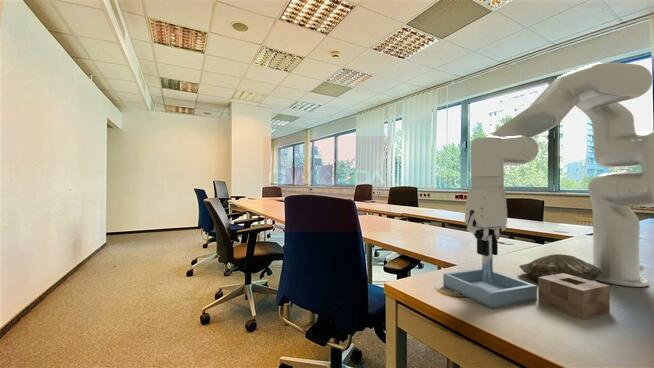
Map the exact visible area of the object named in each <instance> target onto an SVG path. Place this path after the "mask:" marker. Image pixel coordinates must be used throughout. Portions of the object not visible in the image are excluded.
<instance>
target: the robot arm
mask: <svg viewBox="0 0 654 368" xmlns="http://www.w3.org/2000/svg"><path fill="white" fill-rule="evenodd" d="M652 85H653V76H652V73H651V71H650V70H649V69H648V68H646V67H645V66H643V65H640V64H636V63H627V62H626V63H623V62H606V61H605V62H596V63H593V64H588V65H586V66H584V67H581V68H578V69H576V70H572V71H570V72H567V73H565V74H562V75H561V76H558V77H557V78H555V79H554V80H553V81H552V82H550V84H548V86H547V87H546V88H545V89H544V90H543V92H541V94H539V96H537V98H536V99H535V100H534V101H533V102H532V103H531V104H530V105H529V106H528V107H527V108H526V109H524V110H522V111H521V112H519V113H518V114H517V115H515V116H514V117H512V118H511V119H510V120H508V121H507V122H505V123H504V124H503V125H501V126H500V127H498V128H497V129H496V130H495V131H494V132H493V133H492V134H491V135H488V136H487V135H486V136H480V137H479V136H478V137H475V138H473V139H472V140H471V142H470V189H468V191H467V195H466V200H465V208H464V210H465V212H464V223H465V226H466V231H467V232H469V233H471V234H473V236H474V238H475V239H476V253H477V255H480V256H482V255H484V256H489V241H488V240H487V235H492V237H493V256H498V245H499V244H498V242H499V241H498V240H499V239H500V235H501V234H502V232H503V231H505V230H506V229H507V223H508V205H507V197H506V192H505V188H504V187H505V186H504V185H505V179H504V175H505V174H504V170H505V168H504V167H505V166H519V165H526V164H528V163H530V162H532V161H533V160H535V159H536V157H537V156H538V154H539V151H540V147H539V145H538V144H539V143H537V142H536V140H534V138H533V137H536V136H538V135H541V134H544V133H545V132H547V131H549V130H551V129H553V128H555V127H556V126H557V125H559V124H560V123H561V122H562V121H563V119H564V118H565V117H566V116H567V115H568V114H569V113H570V112H571V110H572V109H573V108H575V107H576V108H578V109H579V110H580V111H581V112H583V114H585V115H586V117H588V118H589V120H590V121H591V125H592V130H593V131H592V133H593V135H592V139H593V155H594V161H595V163H596V165H598V166H599V167H600V168H601V167H602V168H605V169H623V168H641V171H625V172H624V171H623V172H622V171H620V172H605V173H602V174H598V175H596V176H593V177H592V179H590V181H589V183H588V186H587V190H588V194H589V199H590V203H591V207H592V208H591V209H592V248H593V249H592V265H594V266H596V267H597V268H599V269H600V270H601V271H602V273H603V274H602V275H601V276H600V277H598V278H596V279H595V280H596V281H599V282H601V283H603V282H604V283H605V284H606V283H607V284H612V285H616V286H617V285H618V286H623V287H634V288H635V287H636V288H640V287H641V288H643V287H647V286H648V285H649V281H648V279H646V278H644V277H642V276H641V274H640V273H641V272H644V271H645V268H644V266H643V265H641V264H640V262H641V261H640V257H641V255H640V253H641V252H640V249H641V248H640V226H641V225H640V220H639V217H638V216H637V214H636V213H635V212H634V210H633V209H632V208H631V207H645V208H654V130H646V131H639V132H636V129H635V119H634V118H635V117H634V115H633V113H632V112H631V111H630V110H629V109H628V108H627V107H626V106H624V105H623V104H621V103H620V102H624V101H629V100H633V99H637V98H639V97H642V96H644V95H645V94H646V93H648V92H649V90H650V89H651V87H652Z"/></svg>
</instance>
